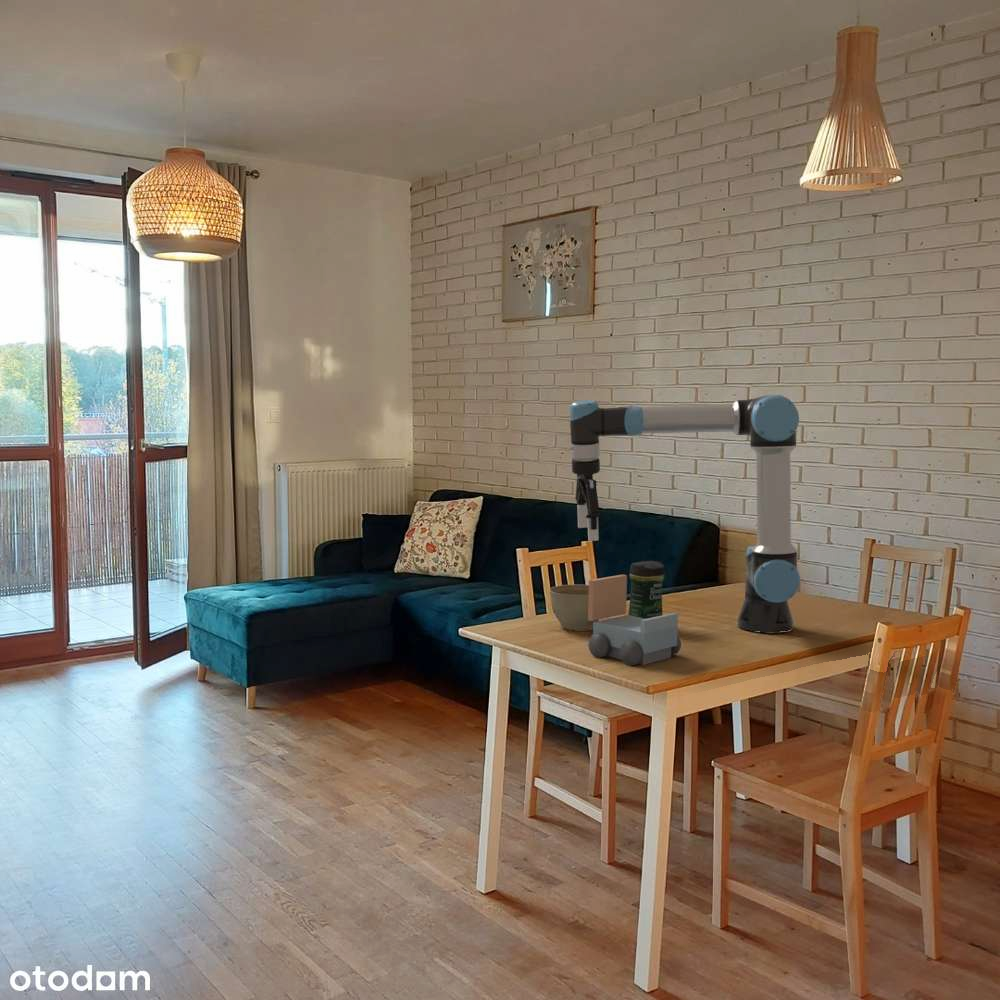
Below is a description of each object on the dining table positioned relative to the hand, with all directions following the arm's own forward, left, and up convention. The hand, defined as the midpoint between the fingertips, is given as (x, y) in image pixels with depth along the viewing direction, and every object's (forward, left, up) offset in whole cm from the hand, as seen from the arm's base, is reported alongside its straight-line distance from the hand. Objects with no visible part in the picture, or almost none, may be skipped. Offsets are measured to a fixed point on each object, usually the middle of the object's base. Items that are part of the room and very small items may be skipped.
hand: (588, 533), depth 279 cm
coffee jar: (-15, -8, -26) cm, 31 cm away
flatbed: (-20, +25, -26) cm, 42 cm away
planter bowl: (+2, +1, -26) cm, 27 cm away
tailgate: (-12, +22, -18) cm, 30 cm away
